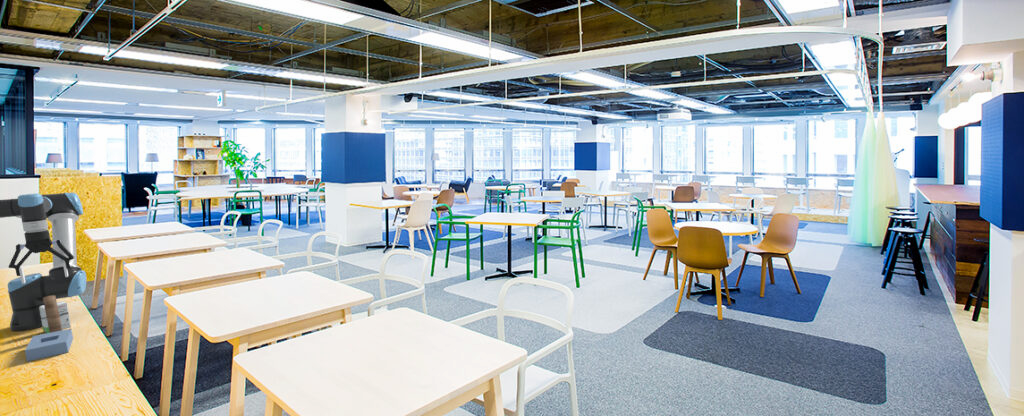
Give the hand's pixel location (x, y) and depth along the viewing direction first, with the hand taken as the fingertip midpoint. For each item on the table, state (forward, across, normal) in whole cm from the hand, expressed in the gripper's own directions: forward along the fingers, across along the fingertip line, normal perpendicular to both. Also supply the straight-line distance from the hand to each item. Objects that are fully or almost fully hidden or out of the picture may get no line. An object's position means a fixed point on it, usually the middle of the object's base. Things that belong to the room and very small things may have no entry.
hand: (45, 279), depth 212 cm
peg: (+26, 0, 0) cm, 26 cm away
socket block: (+26, 0, -17) cm, 31 cm away
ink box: (+26, -1, +12) cm, 29 cm away
